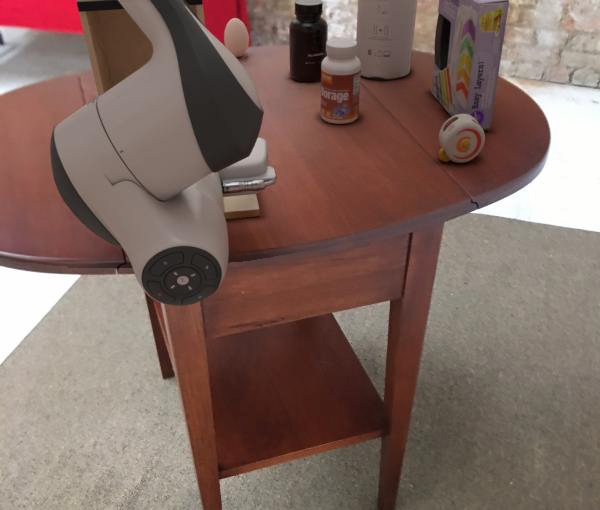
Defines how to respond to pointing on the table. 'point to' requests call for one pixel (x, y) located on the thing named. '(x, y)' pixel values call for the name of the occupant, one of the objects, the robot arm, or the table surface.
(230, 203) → the board
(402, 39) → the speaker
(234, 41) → the egg
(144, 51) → the wooden cubby shelf
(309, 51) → the supplement bottle
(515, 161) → the table surface
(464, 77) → the cake pan box
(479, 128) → the roller toy
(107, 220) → the robot arm
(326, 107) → the pill bottle
